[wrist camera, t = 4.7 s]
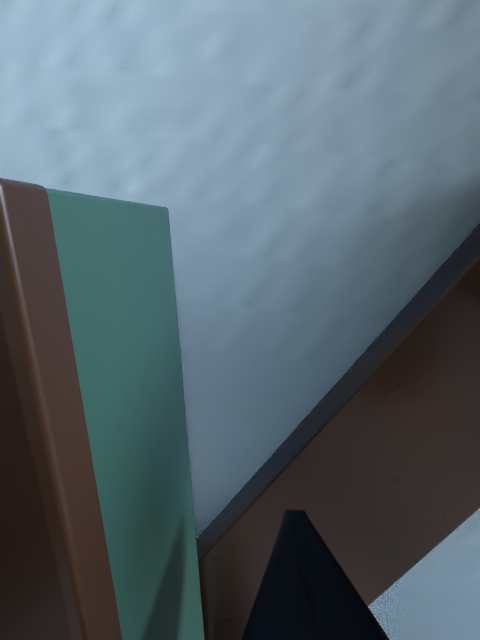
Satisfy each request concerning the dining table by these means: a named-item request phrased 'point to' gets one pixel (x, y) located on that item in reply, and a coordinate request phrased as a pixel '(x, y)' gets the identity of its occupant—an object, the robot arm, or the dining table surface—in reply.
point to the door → (92, 424)
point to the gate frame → (368, 457)
